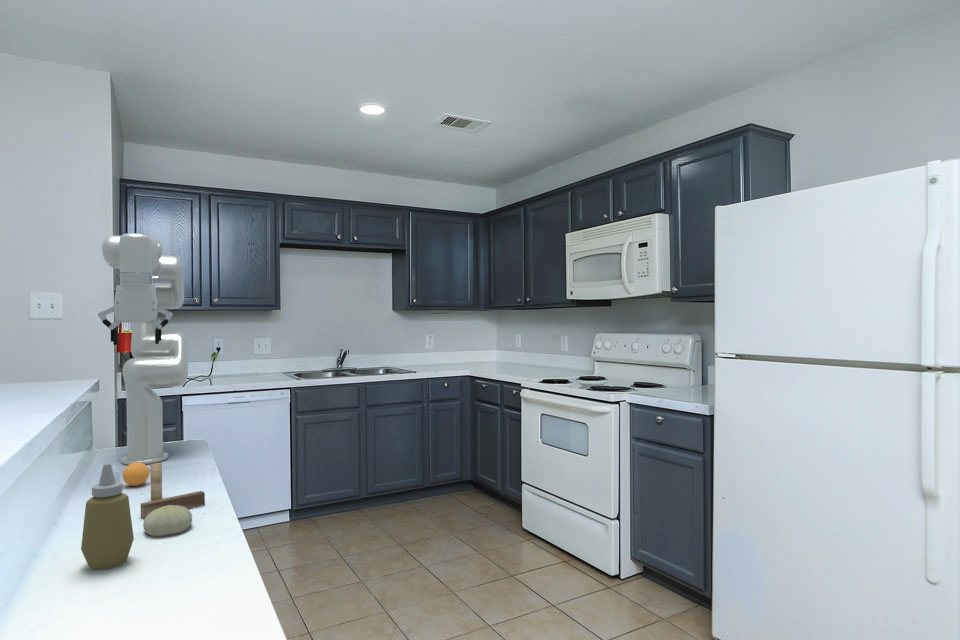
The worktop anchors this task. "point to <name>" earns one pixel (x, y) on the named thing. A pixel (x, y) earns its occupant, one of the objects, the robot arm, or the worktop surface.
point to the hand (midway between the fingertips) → (136, 344)
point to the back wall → (174, 502)
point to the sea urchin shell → (167, 520)
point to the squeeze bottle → (107, 524)
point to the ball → (136, 474)
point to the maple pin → (156, 481)
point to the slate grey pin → (116, 475)
